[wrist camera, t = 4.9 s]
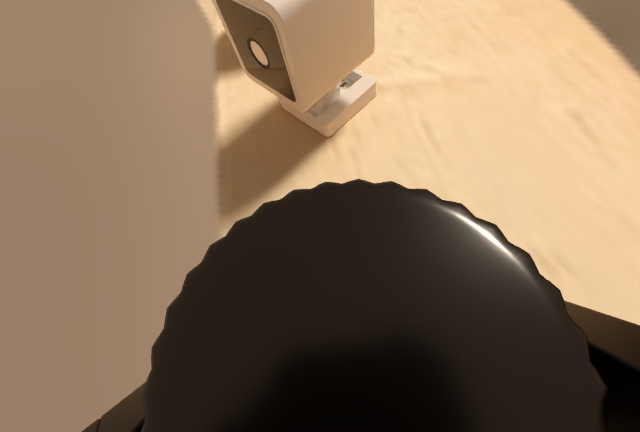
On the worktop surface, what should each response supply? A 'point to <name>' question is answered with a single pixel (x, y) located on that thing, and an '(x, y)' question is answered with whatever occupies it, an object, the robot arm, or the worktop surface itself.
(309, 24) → the security camera
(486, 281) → the supplement bottle
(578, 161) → the worktop surface
